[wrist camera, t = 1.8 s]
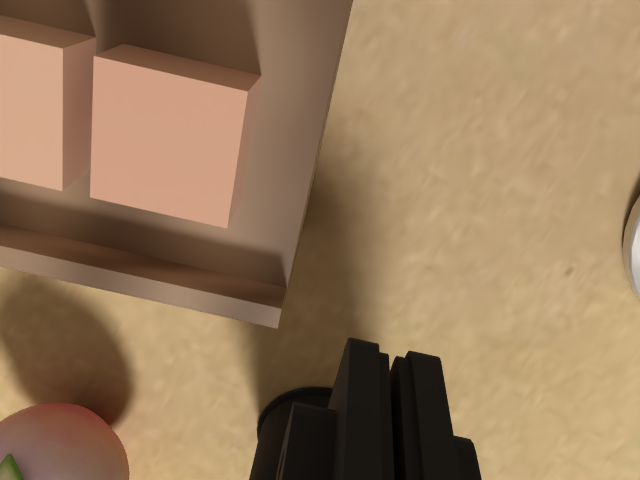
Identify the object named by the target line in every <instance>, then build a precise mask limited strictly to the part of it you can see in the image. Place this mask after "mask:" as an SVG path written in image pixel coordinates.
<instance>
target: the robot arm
mask: <svg viewBox="0 0 640 480" xmlns="http://www.w3.org/2000/svg"><path fill="white" fill-rule="evenodd" d="M622 252H623V261H624V269H625V273H626V275H627V278H628V281H629V283H630V286H631V288H632V290H633V291H634V292H635V294H636V295H637V297H638V298H639V300H640V195H639V197H638V199H637V200H636V202H635V204H634V206H633V208H632V210H631V213H630V216H629V219H628V222H627V225H626V228H625V232H624V241H623V249H622ZM276 480H482V479H481V474H480V470H479V465H478V460H477V455H476V450H475V447H474V444H473V442H472V441H471V440H470V439H467V438H463V437H458V436H454V435H453V429H452V424H451V418H450V412H449V406H448V400H447V394H446V388H445V382H444V376H443V370H442V364H441V360H440V358H439V357H436V356H432V355H427V354H423V353H418V352H413V351H408V353H407V354H406V356H405V358H403V357H399V356H396V357H395V359H394V362H393V364H392V367H391V370H390V369H389V355H388V354H385V353H381V352H379V345H378V344H377V343H372V342H368V341H363V340H359V339H354V338H348V340H347V343H346V346H345V350H344V353H343V357H342V360H341V363H340V367H339V370H338V374H337V377H336V381H335V384H334V388H333V391H332V395H331V398H330V401H329V405H328V408H323V407H318V406H314V405H309V404H304V403H300V402H295V401H294V402H293V405H292V409H291V413H290V417H289V421H288V425H287V428H286V433H285V437H284V441H283V446H282V450H281V455H280V460H279V465H278V470H277V475H276Z"/></svg>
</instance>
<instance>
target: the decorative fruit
mask: <svg viewBox="0 0 640 480" xmlns="http://www.w3.org/2000/svg"><path fill="white" fill-rule="evenodd" d="M0 480H129V465H128V460H127V456H126V452H125V449H124V447H123V445H122V443H121V441H120V439H119V438H118V436H117V435H116V433H115V432H114V431H113V430H112V429H111V428H110V427H109V425H108V424H107V423H106V422H105V421H104V420H103V419H102V418H100V417H99V416H98V415H97V414H95V413H94V412H92V411H90V410H89V409H87V408H85V407H82V406H79V405H76V404H71V403H46V404H39V405H35V406H31V407H28V408H25V409H23V410H20V411H18V412H16V413H14V414H12V415H10V416H8V417H7V418H5V419H4V420H2V421H1V422H0Z"/></svg>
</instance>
